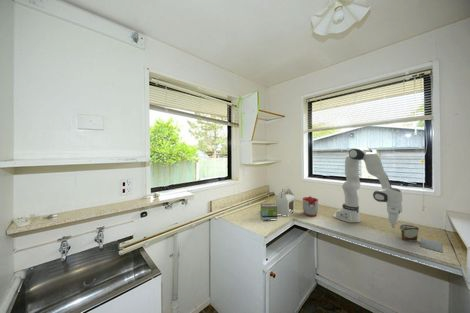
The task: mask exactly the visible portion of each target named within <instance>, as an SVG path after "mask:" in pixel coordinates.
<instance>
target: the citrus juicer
mask: <svg viewBox="0 0 470 313" xmlns="http://www.w3.org/2000/svg"><path fill="white" fill-rule="evenodd" d="M301 199H302V210H303V213H304V215H305V216H307V217H316V216H317V215H318V211H319V199H318V198H315V197H313V196H312V195H309V196H305V197H302V198H301Z"/></svg>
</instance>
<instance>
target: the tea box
mask: <svg viewBox="0 0 470 313" xmlns="http://www.w3.org/2000/svg"><path fill="white" fill-rule="evenodd" d="M260 218H262V219H261V221H262V220H271V219H277V220H278V215H277V206H276V202H275V203H260Z"/></svg>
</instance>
